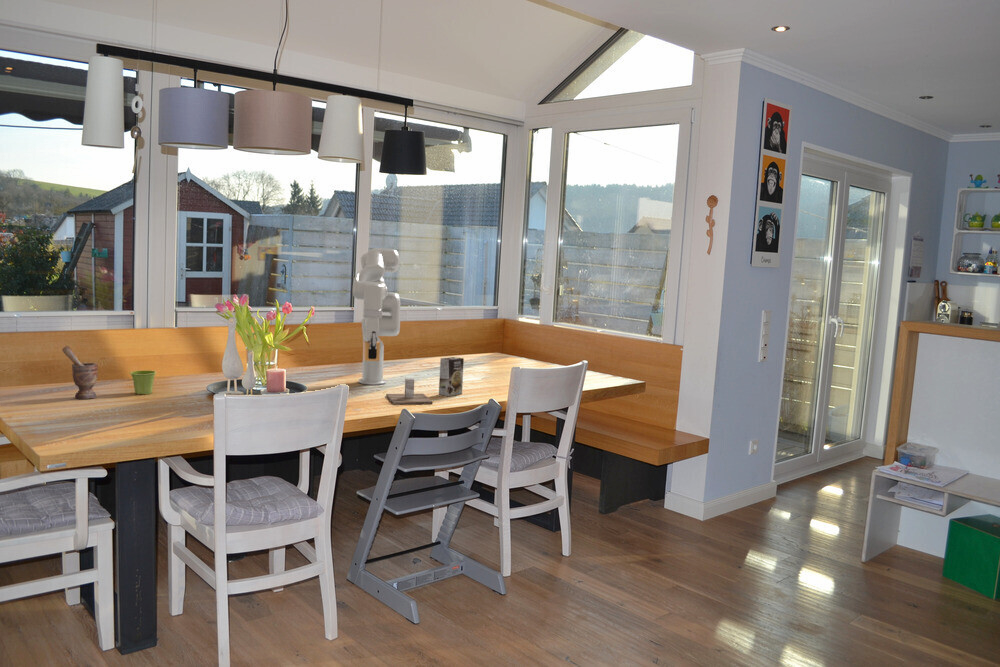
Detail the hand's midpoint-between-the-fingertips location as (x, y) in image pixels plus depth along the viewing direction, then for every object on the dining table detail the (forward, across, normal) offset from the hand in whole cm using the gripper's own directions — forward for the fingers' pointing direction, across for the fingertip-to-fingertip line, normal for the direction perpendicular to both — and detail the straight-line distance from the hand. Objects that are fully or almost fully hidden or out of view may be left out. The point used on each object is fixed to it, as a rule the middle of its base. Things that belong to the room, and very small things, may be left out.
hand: (371, 357), depth 317 cm
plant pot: (+18, -18, -88) cm, 92 cm away
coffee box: (+18, -9, +37) cm, 42 cm away
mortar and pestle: (+18, -10, -109) cm, 111 cm away
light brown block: (+1, 0, 0) cm, 1 cm away
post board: (+18, +3, +16) cm, 24 cm away
